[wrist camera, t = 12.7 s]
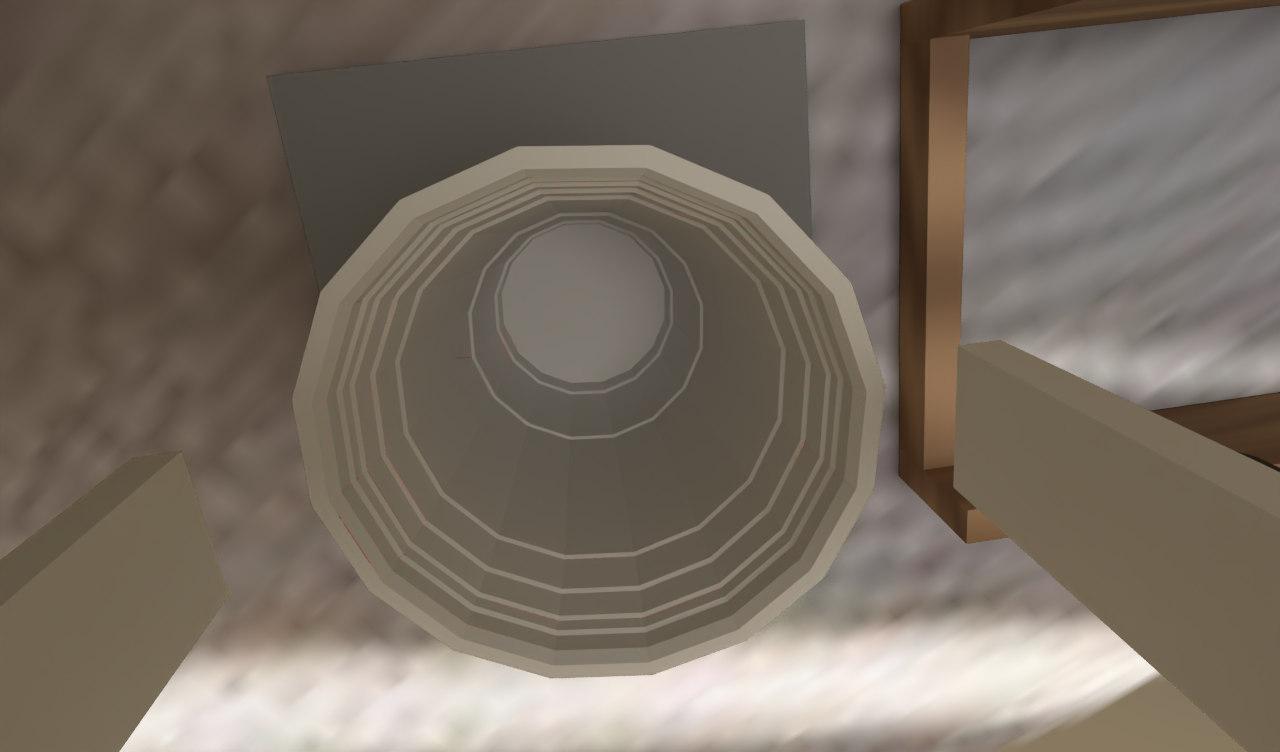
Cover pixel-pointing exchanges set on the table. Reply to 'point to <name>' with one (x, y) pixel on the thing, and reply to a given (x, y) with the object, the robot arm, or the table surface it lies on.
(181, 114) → the table surface
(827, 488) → the plastic cup
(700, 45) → the mat
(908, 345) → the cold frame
